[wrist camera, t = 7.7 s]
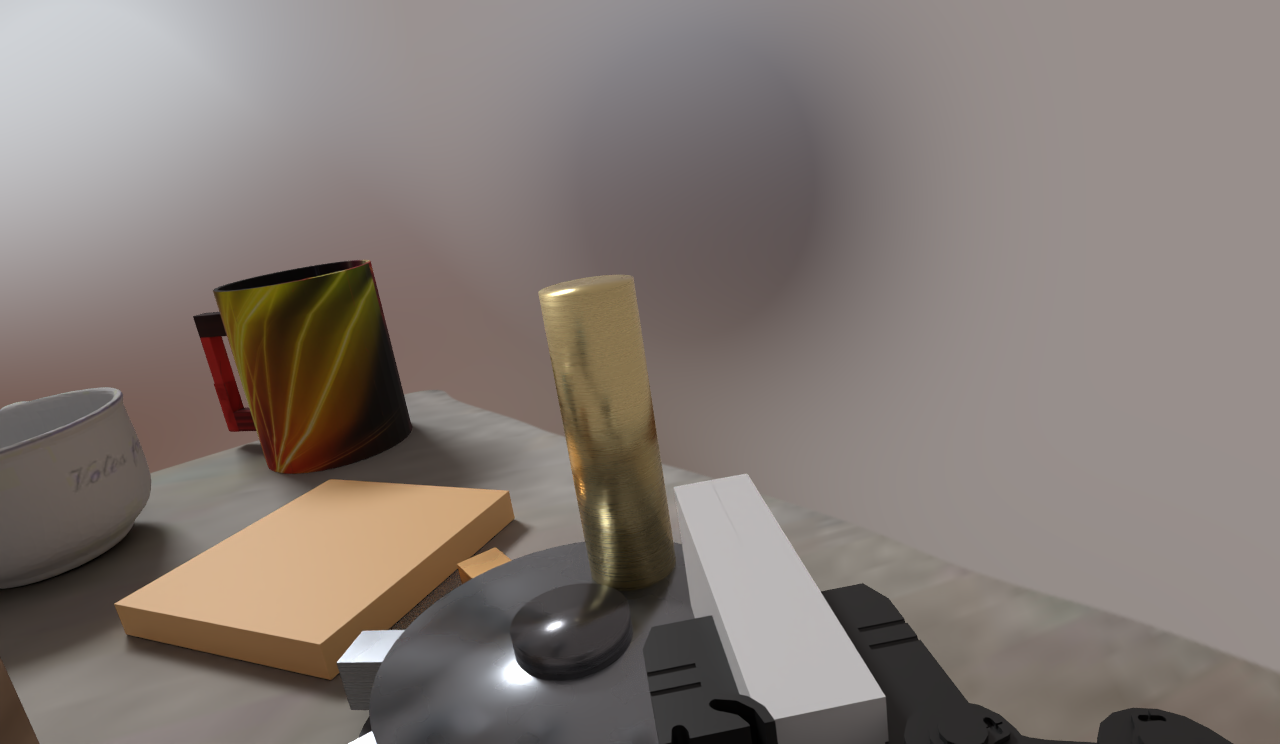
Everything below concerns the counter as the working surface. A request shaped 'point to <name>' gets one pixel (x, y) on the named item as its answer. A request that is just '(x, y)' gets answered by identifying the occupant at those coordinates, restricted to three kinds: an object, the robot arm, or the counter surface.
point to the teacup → (66, 482)
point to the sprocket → (551, 575)
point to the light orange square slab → (317, 573)
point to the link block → (13, 714)
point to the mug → (308, 365)
